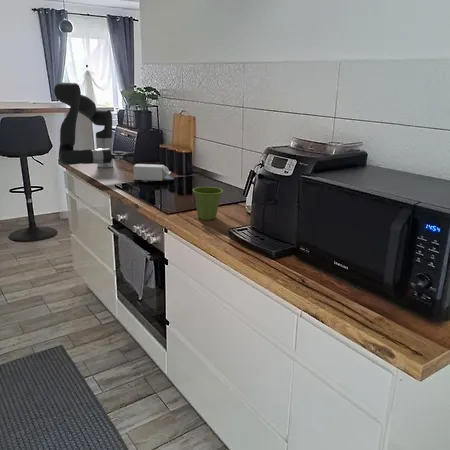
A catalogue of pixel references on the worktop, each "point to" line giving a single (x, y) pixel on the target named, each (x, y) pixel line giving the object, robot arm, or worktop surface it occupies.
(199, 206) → the plant pot
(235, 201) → the worktop surface
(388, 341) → the worktop surface
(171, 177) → the mat
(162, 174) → the milk carton
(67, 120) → the robot arm
